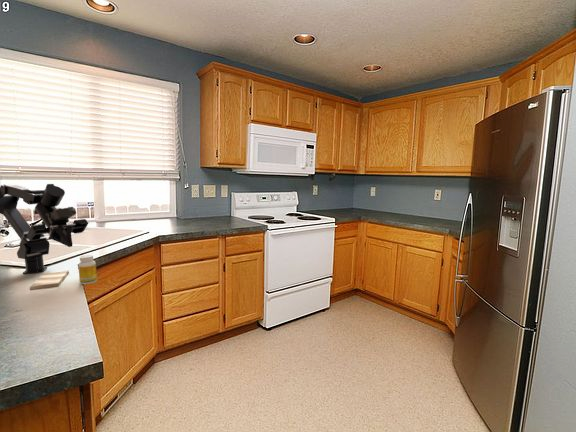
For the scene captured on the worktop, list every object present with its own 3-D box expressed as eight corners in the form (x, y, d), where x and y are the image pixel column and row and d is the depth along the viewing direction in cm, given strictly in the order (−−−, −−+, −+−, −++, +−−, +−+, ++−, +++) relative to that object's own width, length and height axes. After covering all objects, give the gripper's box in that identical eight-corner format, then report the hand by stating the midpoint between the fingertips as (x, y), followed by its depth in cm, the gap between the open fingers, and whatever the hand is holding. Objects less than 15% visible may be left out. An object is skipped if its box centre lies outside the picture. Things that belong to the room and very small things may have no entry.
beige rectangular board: (44, 275, 120) (43, 273, 119) (68, 272, 123) (68, 270, 123) (30, 289, 105) (29, 286, 105) (58, 285, 108) (58, 283, 108)
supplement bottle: (78, 282, 112) (75, 256, 111) (94, 278, 116) (92, 253, 115) (82, 285, 108) (79, 259, 107) (99, 281, 112) (97, 256, 111)
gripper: (27, 202, 105) (50, 236, 102) (83, 198, 122) (104, 227, 119) (17, 223, 110) (39, 257, 107) (72, 217, 126) (92, 246, 123)
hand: (71, 246), depth 114 cm, fingers closed
